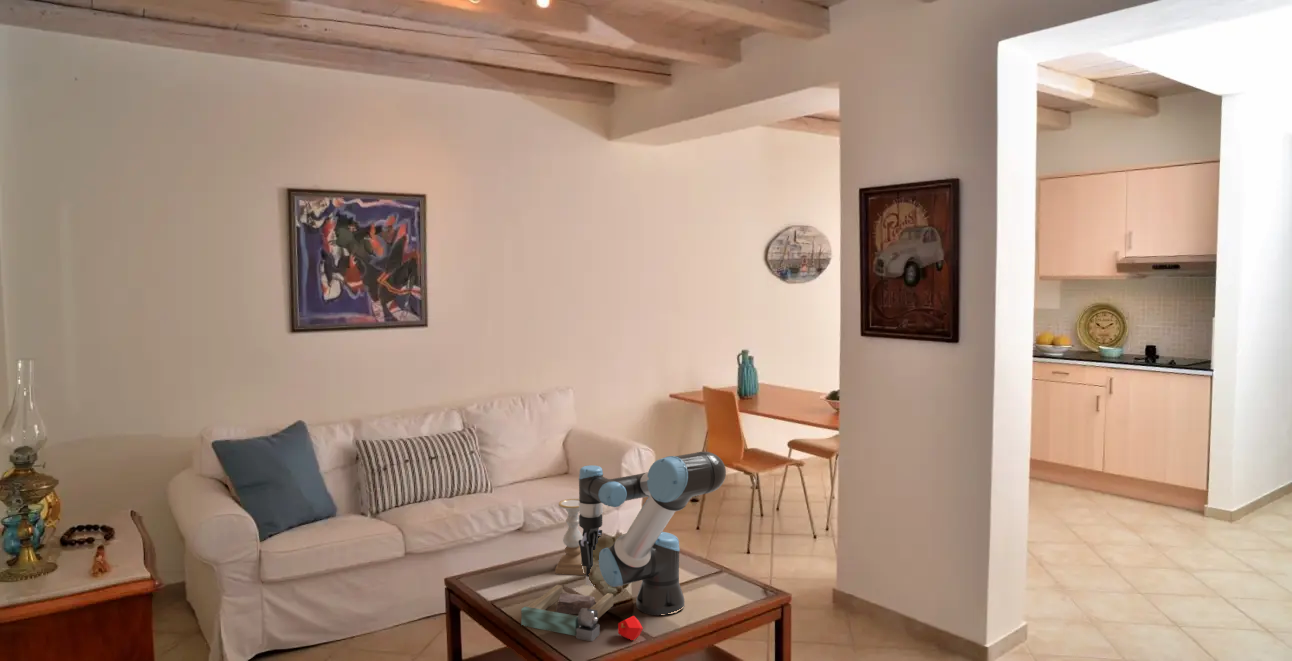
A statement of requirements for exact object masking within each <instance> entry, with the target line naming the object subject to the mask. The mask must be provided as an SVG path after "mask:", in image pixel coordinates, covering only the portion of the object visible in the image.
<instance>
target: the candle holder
mask: <svg viewBox="0 0 1292 661" xmlns="http://www.w3.org/2000/svg"><path fill="white" fill-rule="evenodd" d="M558 507H559V508H561V509H564V510H565V512H567V518H566V519H565V523H566V524H567V526H568V527H567V531H566V532H565V533H564V535H563V538H562V543H563V544H564V545H565V546H566V547H564V553H565V554H563V555H562V556H561V557H560V559H559V561H558V563H557V564H556V566H555V569H554V570H555V571H554V573H555V575H566V576H567V575H570V576H571V575H573V576H585V575H584V573H583V569H582V565H581V551H580V545H579V540H582V538H583V536H582V534H583V533H582V532H581V531H580V529H579V498H567V499H562V500H560V501H559V502H558Z"/></svg>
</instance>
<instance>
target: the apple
mask: <svg viewBox="0 0 1292 661" xmlns="http://www.w3.org/2000/svg"><path fill="white" fill-rule="evenodd" d="M617 626H618V628H617V633H618V634H619V635H620V636H621V637H623V638H624V639H628V640H629V639H630V640H629V641H632V640H634V639H635V640H636V638H637V637H638V636H639V637H640V635H641V634H642V631H643V629H644V628H643V626H642V624H641V622H640V620H639V619H638V618H637V617H636V616H635V615H632V616H630V617H628V618H626V619H623V620H621V621H620V622H618V623H617ZM639 637H638V638H639ZM638 638H637V639H638ZM635 640H634V641H635Z"/></svg>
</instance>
